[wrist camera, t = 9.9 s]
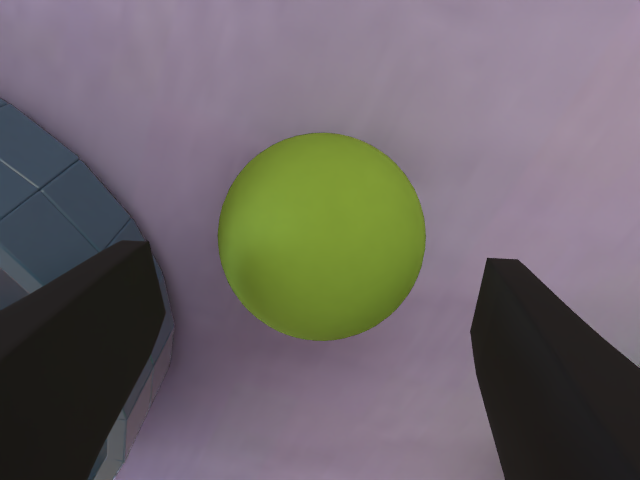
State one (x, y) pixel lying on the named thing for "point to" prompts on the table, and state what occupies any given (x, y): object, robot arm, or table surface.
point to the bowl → (67, 248)
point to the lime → (321, 236)
